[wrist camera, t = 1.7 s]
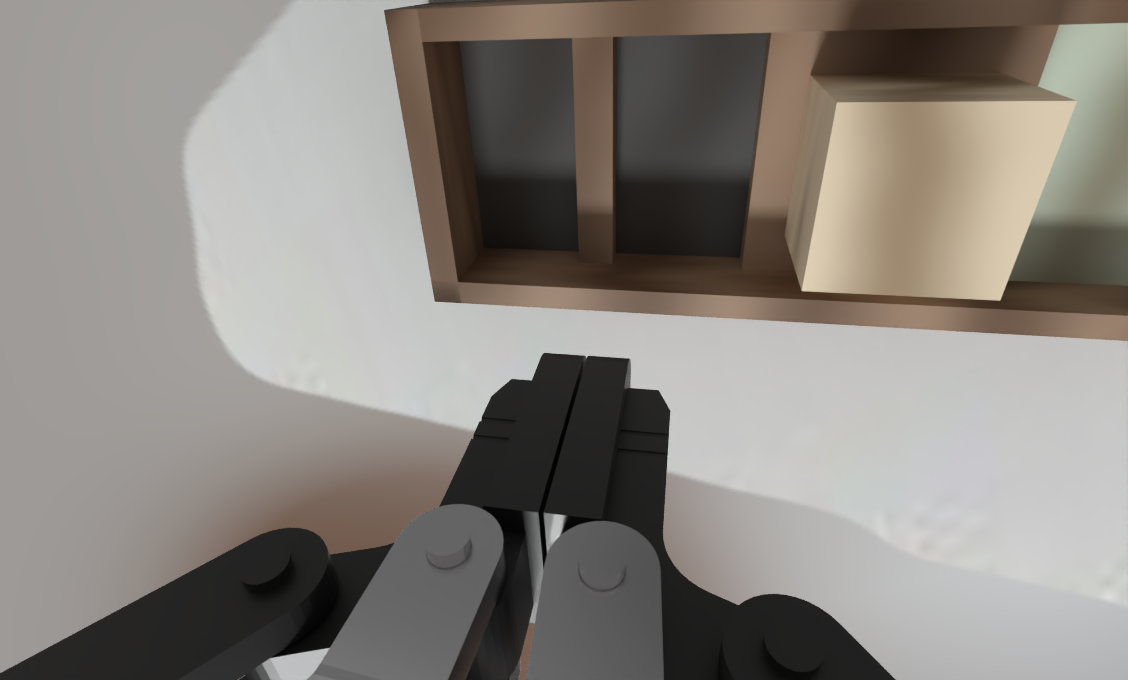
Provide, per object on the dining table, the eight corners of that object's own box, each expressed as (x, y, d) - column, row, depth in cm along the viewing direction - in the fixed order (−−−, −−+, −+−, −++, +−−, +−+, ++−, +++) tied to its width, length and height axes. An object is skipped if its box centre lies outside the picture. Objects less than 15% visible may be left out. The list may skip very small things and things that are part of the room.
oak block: (999, 72, 20) (1077, 100, 16) (946, 240, 23) (1000, 300, 19) (810, 74, 21) (837, 102, 17) (784, 234, 24) (801, 291, 20)
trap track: (1396, -35, 18) (1603, -34, 14) (1203, 295, 24) (1309, 366, 20) (428, 3, 24) (370, 12, 20) (464, 263, 30) (426, 312, 25)
